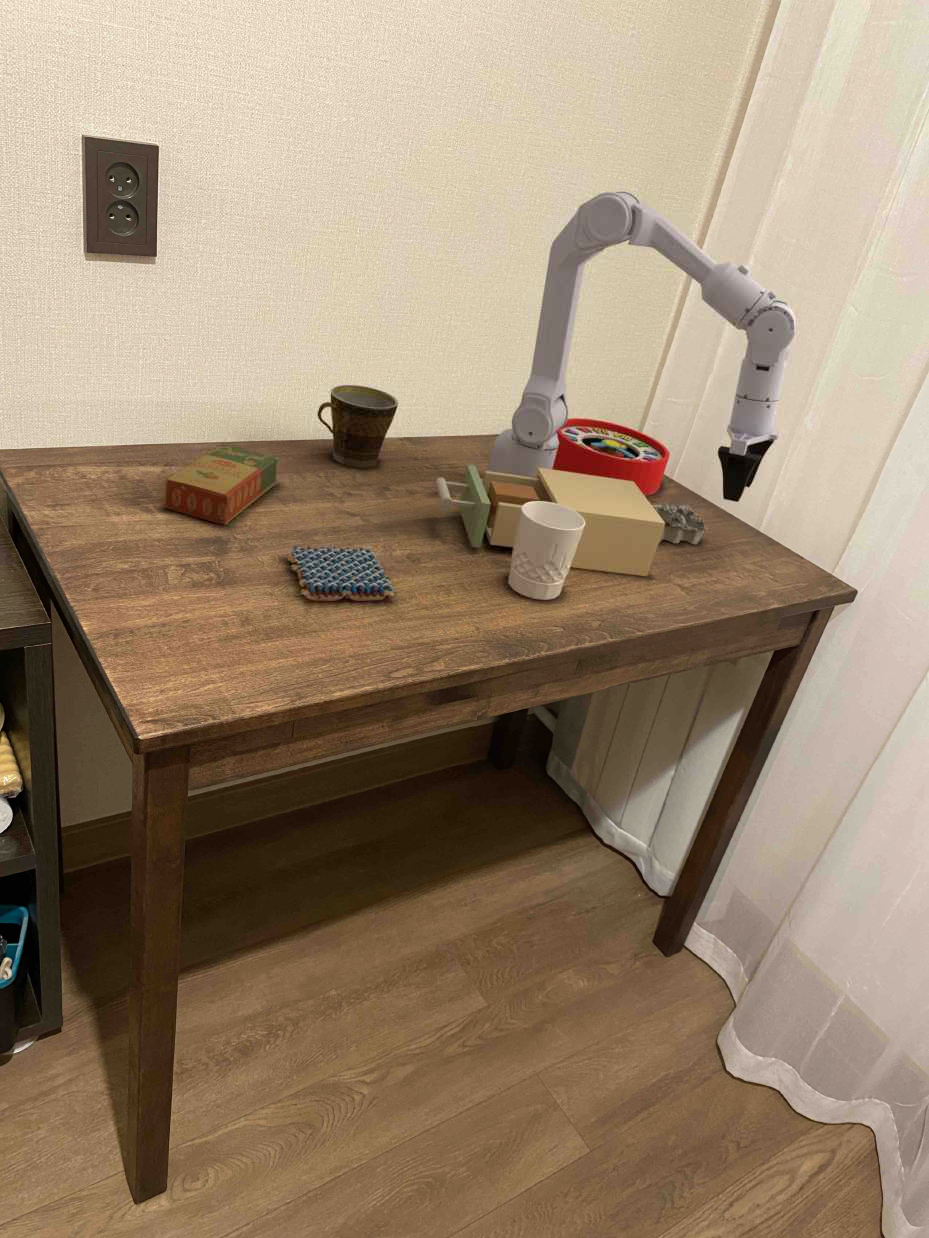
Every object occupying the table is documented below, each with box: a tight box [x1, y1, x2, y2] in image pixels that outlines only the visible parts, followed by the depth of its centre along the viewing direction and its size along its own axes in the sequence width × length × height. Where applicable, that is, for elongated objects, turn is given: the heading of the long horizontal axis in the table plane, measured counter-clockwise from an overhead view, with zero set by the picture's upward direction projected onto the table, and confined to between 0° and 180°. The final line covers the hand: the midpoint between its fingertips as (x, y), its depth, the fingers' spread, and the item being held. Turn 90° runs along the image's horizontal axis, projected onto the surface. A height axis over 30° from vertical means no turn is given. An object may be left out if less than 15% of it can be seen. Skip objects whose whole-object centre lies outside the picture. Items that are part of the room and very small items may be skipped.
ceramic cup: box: [317, 384, 399, 469], centre depth 136 cm, size 13×10×10 cm
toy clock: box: [552, 417, 671, 496], centre depth 157 cm, size 20×6×20 cm
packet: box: [486, 481, 539, 528], centre depth 124 cm, size 6×4×5 cm
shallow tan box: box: [535, 468, 665, 577], centre depth 127 cm, size 15×14×8 cm
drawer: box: [434, 464, 553, 549], centre depth 124 cm, size 18×13×6 cm
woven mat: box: [287, 545, 395, 602], centre depth 105 cm, size 10×11×2 cm
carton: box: [163, 443, 278, 525], centre depth 117 cm, size 8×16×4 cm, turn 168°
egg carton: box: [651, 503, 710, 545], centre depth 138 cm, size 11×8×4 cm
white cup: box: [507, 501, 585, 601], centre depth 112 cm, size 8×8×10 cm
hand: (737, 492), depth 129 cm, fingers open, 7 cm apart
